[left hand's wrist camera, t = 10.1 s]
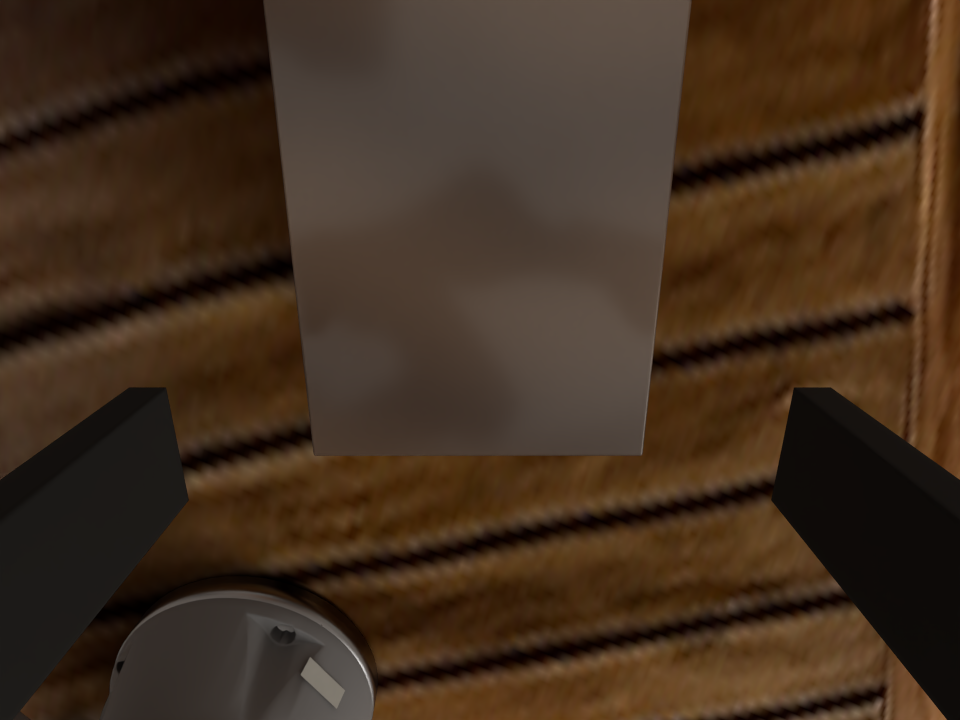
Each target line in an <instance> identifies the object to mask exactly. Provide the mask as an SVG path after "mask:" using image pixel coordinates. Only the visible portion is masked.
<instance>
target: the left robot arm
mask: <svg viewBox="0 0 960 720" xmlns="http://www.w3.org/2000/svg"><path fill="white" fill-rule="evenodd" d="M188 500H189V499H188V494H187V489H186V484H185V479H184V475H183V470H182V465H181V460H180V455H179V450H178V445H177V440H176V435H175V430H174V425H173V420H172V415H171V410H170V405H169V400H168V395H167V390H166V388H128V389H127V390H125V391H124V392H122V393H121V394H120V395H118V396H117V397H115V398H114V399H113V400H111V401H110V402H108V403H107V404H106V405H104V406H103V407H101V408H100V409H99V410H97V411H96V412H94V413H93V414H92V415H90V416H89V417H87V418H86V419H85V420H83V421H82V422H81V423H79V424H78V425H76V426H75V427H74V428H72V429H71V430H69V431H68V432H67V433H65V434H64V435H62V436H61V437H60V438H58V439H57V440H55V441H54V442H53V443H51V444H50V445H48V446H47V447H46V448H44V449H43V450H41V451H40V452H39V453H37V454H36V455H34V456H33V457H32V458H30V459H29V460H27V461H26V462H25V463H23V464H22V465H20V466H19V467H18V468H16V469H15V470H13V471H12V472H11V473H9V474H8V475H6V476H5V477H4V478H2V479H1V480H0V720H30V719H29V718H28V717H26V716H25V715H24V714H23V713H21V712H20V710H21V709H22V708H23V706H24V705H25V704H26V703H27V701H28V700H29V699H30V698H31V696H32V695H33V694H34V693H35V691H36V690H37V689H38V688H39V686H40V685H41V684H42V683H43V681H44V680H45V679H46V678H47V676H48V675H49V674H50V673H51V671H52V670H53V669H54V668H55V666H56V665H57V664H58V663H59V661H60V660H61V659H62V658H63V656H64V655H65V654H66V653H67V651H68V650H69V649H70V648H71V646H72V645H73V644H74V643H75V641H76V640H77V639H78V638H79V636H80V635H81V634H82V633H83V631H84V630H85V629H86V628H87V626H88V625H89V624H90V623H91V621H92V620H93V619H94V618H95V616H96V615H97V614H98V613H99V611H100V610H101V609H102V608H103V606H104V605H105V604H106V603H107V601H108V600H109V599H110V598H111V597H112V595H113V594H114V593H115V592H116V590H117V589H118V588H119V587H120V585H121V584H122V583H123V582H124V580H125V579H126V578H127V577H128V575H129V574H130V573H131V572H132V570H133V569H134V568H135V567H136V565H137V564H138V563H139V562H140V560H141V559H142V558H143V557H144V555H145V554H146V553H147V552H148V550H149V549H150V548H151V547H152V545H153V544H154V543H155V542H156V540H157V539H158V538H159V537H160V535H161V534H162V533H163V532H164V530H165V529H166V528H167V527H168V525H169V524H170V523H171V522H172V520H173V519H174V518H175V517H176V515H177V514H178V513H179V512H180V510H181V509H182V508H183V507H184V505H185V504H186V503H187V502H188ZM771 500H772V502H773V503H774V504H775V505H776V507H777V508H778V509H779V510H780V512H781V513H782V514H783V515H784V517H785V518H786V519H787V520H788V522H789V523H790V524H791V525H792V527H793V528H794V529H795V530H796V532H797V533H798V534H799V535H800V537H801V538H802V539H803V540H804V542H805V543H806V544H807V545H808V547H809V548H810V549H811V550H812V552H813V553H814V554H815V555H816V557H817V558H818V559H819V560H820V562H821V563H822V564H823V565H824V567H825V568H826V569H827V570H828V572H829V573H830V574H831V575H832V577H833V578H834V579H835V580H836V582H837V583H838V584H839V585H840V587H841V588H842V589H843V590H844V592H845V593H846V594H847V595H848V597H849V598H850V599H851V600H852V601H853V603H854V604H855V605H856V606H857V608H858V609H859V610H860V611H861V613H862V614H863V615H864V616H865V618H866V619H867V620H868V621H869V623H870V624H871V625H872V626H873V628H874V629H875V630H876V631H877V633H878V634H879V635H880V636H881V638H882V639H883V640H884V641H885V643H886V644H887V645H888V646H889V648H890V649H891V650H892V651H893V653H894V654H895V655H896V656H897V658H898V659H899V660H900V661H901V663H902V664H903V665H904V666H905V668H906V669H907V670H908V671H909V673H910V674H911V675H912V676H913V678H914V679H915V680H916V681H917V683H918V684H919V685H920V686H921V688H922V689H923V690H924V691H925V693H926V694H927V695H928V696H929V698H930V699H931V700H932V701H933V703H934V704H935V705H936V706H937V708H938V709H939V710H940V711H941V713H942V714H943V715H944V716H945V718H946V719H947V720H960V480H959V479H958V478H956V477H955V476H954V475H952V474H951V473H949V472H948V471H947V470H945V469H944V468H942V467H941V466H940V465H938V464H937V463H935V462H934V461H933V460H931V459H930V458H928V457H927V456H926V455H924V454H923V453H921V452H920V451H919V450H917V449H916V448H914V447H913V446H912V445H910V444H909V443H907V442H906V441H905V440H903V439H902V438H900V437H899V436H898V435H896V434H895V433H893V432H892V431H891V430H889V429H888V428H886V427H885V426H884V425H882V424H881V423H879V422H878V421H877V420H875V419H874V418H873V417H871V416H870V415H868V414H867V413H866V412H864V411H863V410H861V409H860V408H859V407H857V406H856V405H854V404H853V403H852V402H850V401H849V400H847V399H846V398H845V397H843V396H842V395H840V394H839V393H838V392H836V391H835V390H833V389H832V388H794V390H793V395H792V400H791V405H790V410H789V415H788V420H787V425H786V430H785V435H784V440H783V445H782V450H781V455H780V460H779V465H778V470H777V475H776V479H775V484H774V489H773V494H772V499H771ZM377 687H378V675H377V667H376V663H375V660H374V657H373V654H372V652H371V649H370V647H369V645H368V643H367V642H366V640H365V638H364V637H363V635H362V634H361V632H360V631H359V630H358V629H357V628H356V626H355V625H354V624H353V623H352V622H351V621H350V620H349V619H348V618H347V617H346V616H345V615H344V614H343V613H341V612H340V611H339V610H338V609H337V608H335V607H334V606H332V605H331V604H329V603H328V602H326V601H325V600H323V599H321V598H320V597H318V596H316V595H314V594H312V593H310V592H308V591H306V590H304V589H301V588H298V587H296V586H293V585H290V584H287V583H283V582H280V581H276V580H271V579H266V578H259V577H250V576H224V577H215V578H209V579H204V580H200V581H196V582H193V583H189V584H187V585H184V586H182V587H179V588H177V589H175V590H173V591H171V592H169V593H168V594H166V595H165V596H163V597H162V598H160V599H159V600H158V601H157V602H155V603H154V604H153V605H152V606H151V607H150V608H149V609H148V610H147V611H146V612H145V613H144V615H143V616H142V618H141V619H140V620H139V622H138V623H137V625H136V626H135V627H134V629H133V630H132V632H131V633H130V635H129V636H128V637H127V639H126V640H125V642H124V643H123V645H122V647H121V649H120V651H119V653H118V656H117V659H116V662H115V665H114V668H113V672H112V675H111V680H110V687H109V690H110V694H109V697H108V699H107V701H106V703H105V706H104V708H103V711H102V714H101V717H100V720H372V716H373V710H374V705H375V700H376V694H377Z"/></svg>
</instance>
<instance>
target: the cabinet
mask: <svg viewBox="0 0 960 720" xmlns="http://www.w3.org/2000/svg"><path fill="white" fill-rule="evenodd" d="M263 5H264V14H265V23H266V32H267V41H268V50H269V59H270V68H271V76H272V85H273V94H274V103H275V112H276V121H277V130H278V139H279V148H280V157H281V166H282V175H283V184H284V193H285V202H286V210H287V219H288V228H289V237H290V246H291V255H292V264H293V273H294V282H295V291H296V300H297V309H298V318H299V327H300V336H301V345H302V353H303V362H304V371H305V380H306V389H307V398H308V407H309V416H310V425H311V434H312V443H313V452H314V455H315V456H641V455H642V453H643V444H644V435H645V426H646V417H647V407H648V398H649V389H650V380H651V370H652V361H653V352H654V343H655V333H656V324H657V315H658V306H659V296H660V287H661V278H662V269H663V259H664V250H665V241H666V232H667V222H668V213H669V204H670V195H671V185H672V176H673V167H674V158H675V148H676V139H677V130H678V121H679V111H680V102H681V93H682V84H683V74H684V65H685V56H686V47H687V37H688V28H689V19H690V10H691V0H263Z"/></svg>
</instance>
